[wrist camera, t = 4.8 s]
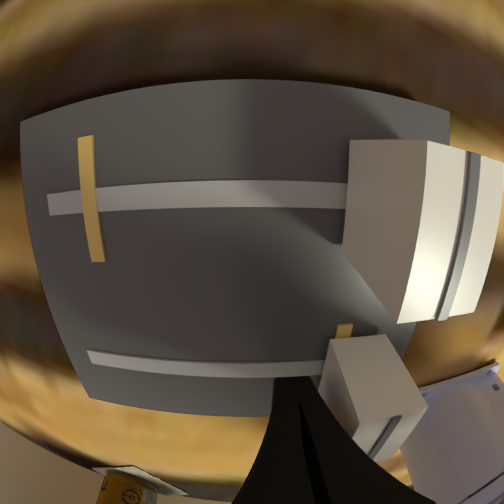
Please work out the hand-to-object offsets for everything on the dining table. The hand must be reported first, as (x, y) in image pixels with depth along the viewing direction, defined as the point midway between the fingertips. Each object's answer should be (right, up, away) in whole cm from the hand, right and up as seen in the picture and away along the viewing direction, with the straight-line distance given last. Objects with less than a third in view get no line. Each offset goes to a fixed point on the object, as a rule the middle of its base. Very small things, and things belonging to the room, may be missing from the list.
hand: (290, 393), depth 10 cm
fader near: (+3, +7, -1) cm, 8 cm away
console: (-2, +4, +1) cm, 5 cm away
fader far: (+3, 0, +1) cm, 3 cm away
